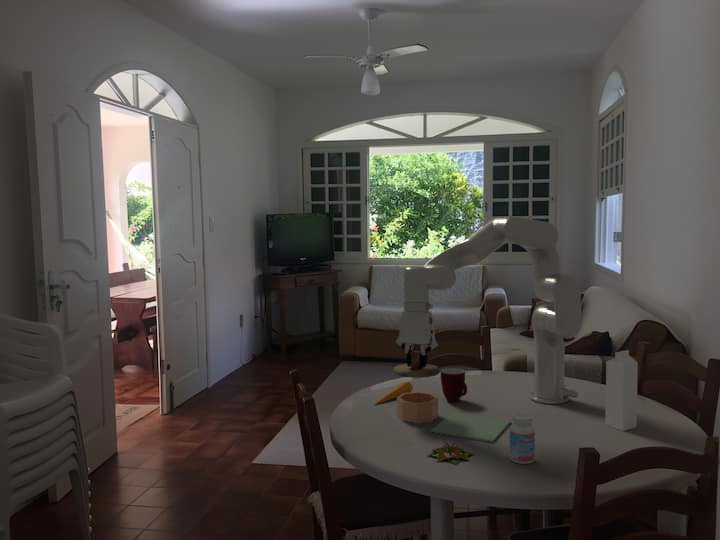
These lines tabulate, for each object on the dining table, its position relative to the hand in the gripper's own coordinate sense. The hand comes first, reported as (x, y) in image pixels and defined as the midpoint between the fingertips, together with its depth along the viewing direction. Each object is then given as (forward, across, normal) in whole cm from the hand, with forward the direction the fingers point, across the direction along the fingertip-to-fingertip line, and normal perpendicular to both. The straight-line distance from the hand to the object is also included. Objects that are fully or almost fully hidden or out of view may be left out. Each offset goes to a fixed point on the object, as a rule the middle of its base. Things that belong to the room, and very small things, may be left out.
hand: (416, 365), depth 183 cm
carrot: (+16, +16, -14) cm, 27 cm away
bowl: (+16, 0, 0) cm, 16 cm away
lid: (+2, 0, 0) cm, 2 cm away
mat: (+16, -18, +2) cm, 24 cm away
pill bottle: (+16, -37, +19) cm, 45 cm away
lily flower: (+17, -20, +24) cm, 36 cm away
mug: (+16, -5, -20) cm, 26 cm away
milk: (+16, -56, -18) cm, 61 cm away
